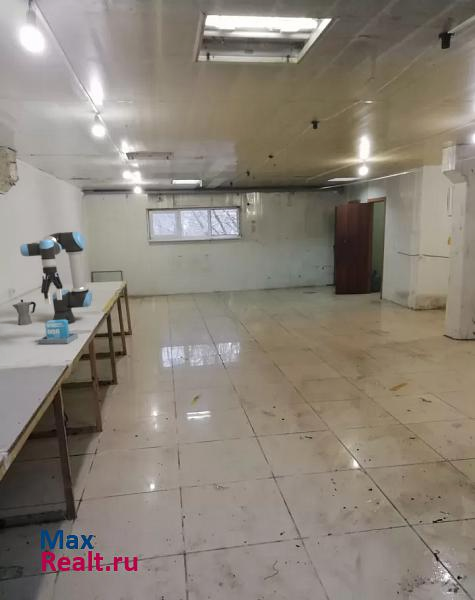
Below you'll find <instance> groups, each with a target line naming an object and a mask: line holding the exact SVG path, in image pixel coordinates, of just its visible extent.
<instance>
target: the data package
mask: <svg viewBox="0 0 475 600" xmlns="http://www.w3.org/2000/svg"><path fill="white" fill-rule="evenodd" d="M44 327H45V333H46V335H45V336H47V339H67V338H69V333H70V328H69V324H68V321H67V320H66V319H64V320H53V319H52V320H50V319H49V320H47V321H46V322H45V324H44Z"/></svg>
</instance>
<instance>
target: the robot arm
mask: <svg viewBox="0 0 475 600" xmlns="http://www.w3.org/2000/svg"><path fill="white" fill-rule="evenodd" d="M84 249H86V241H85V237H84V235H83V234H82V232H79V231H69V232H67V231H66V232H55V233H52V234H49V235H46V236H44V237H43V239H39V240H37V241H35V242H31V243H22V244H21V245H20V254H21V256H23V257H36V256H37V257H38V256H40V257H41V258H40V259H41V266H42V272H43V274H44V275H42V283H41V290H40V292H41V294H43V297H44V303H45V305H51V297H50V292H49V290H50V287H51V284H53V285H54V287H55V288H56V289H55V291H56V292H53V293H52V303H53V312H54V315H53V318H52V320H64V319H66V320H67V321H68V325H70V324H74V323H75V322H76V317H75V315H74V313H73V311H72V309H74V308H75V309H77V308H89V307H91V305H92V300H93V293H92V290H89V287H88V286H87V284H86V279H85V272H84V271H85V269H84V263H83V258H82V257H83V256H82V253H83V252H84ZM62 250H64V251H65V253H66V255H68V261H69V267H70V275H71V281H72V288H71V291H70V290H69V289H63V287H64V286H63V284H62V281H61V279H60V275H59V273H58V268H57V262H56V256H57V255H59V254H60V253H61V252H62ZM62 289H63V290H62Z"/></svg>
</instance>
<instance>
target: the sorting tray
mask: <svg viewBox="0 0 475 600" xmlns="http://www.w3.org/2000/svg"><path fill="white" fill-rule="evenodd" d="M78 338H79V337H78V333H77V332H76V333H74V332H69V338H67V339H47V335H45V336H43V337H41V338H39V339H38V340H37V341H38V345H41V346H42V345H45V346H46V345H50V346H51V345H68V344H70V343H72V342H74V341H75V340H77V339H78Z"/></svg>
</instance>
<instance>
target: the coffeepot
mask: <svg viewBox="0 0 475 600" xmlns="http://www.w3.org/2000/svg"><path fill="white" fill-rule="evenodd" d="M31 305H33V306H32V311H30V306H31ZM11 306H12V307H13V308H14V309H15V310H16V312H17V314H18V315H17V325H18V326H27V325H28V326H29V325H30V324H32V323H33V321H32V319H31V315H30V313H31V314H33V313H35V310H36V306H37V302H34V301H28V302H25V301H24V299H20V302H19V303H15V304H12V305H11Z"/></svg>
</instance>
